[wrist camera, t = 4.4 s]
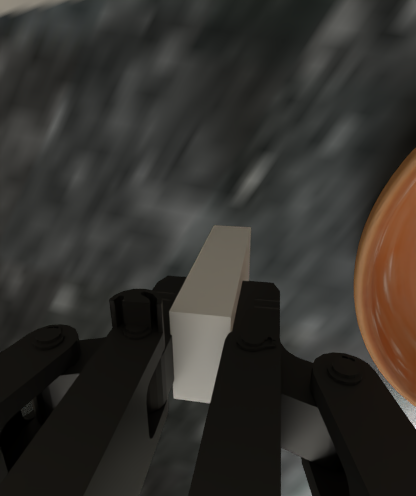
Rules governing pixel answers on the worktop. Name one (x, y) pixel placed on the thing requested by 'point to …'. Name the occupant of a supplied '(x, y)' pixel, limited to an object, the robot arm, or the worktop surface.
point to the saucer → (390, 280)
